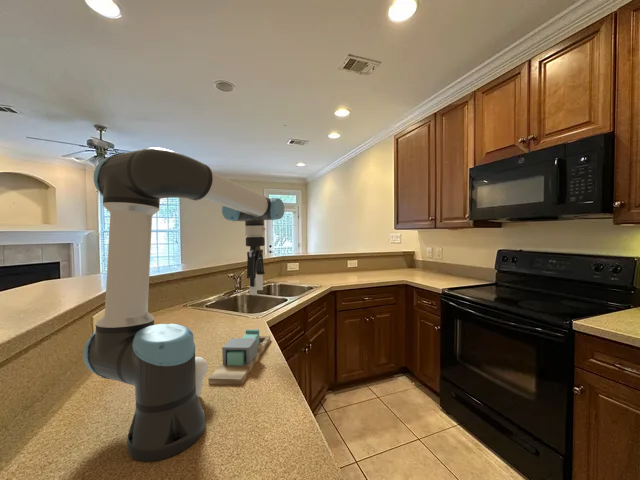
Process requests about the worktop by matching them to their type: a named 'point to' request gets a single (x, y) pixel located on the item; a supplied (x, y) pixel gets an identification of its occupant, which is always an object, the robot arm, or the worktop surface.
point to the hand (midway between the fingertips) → (256, 292)
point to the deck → (237, 368)
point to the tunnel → (241, 348)
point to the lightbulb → (200, 373)
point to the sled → (240, 355)
